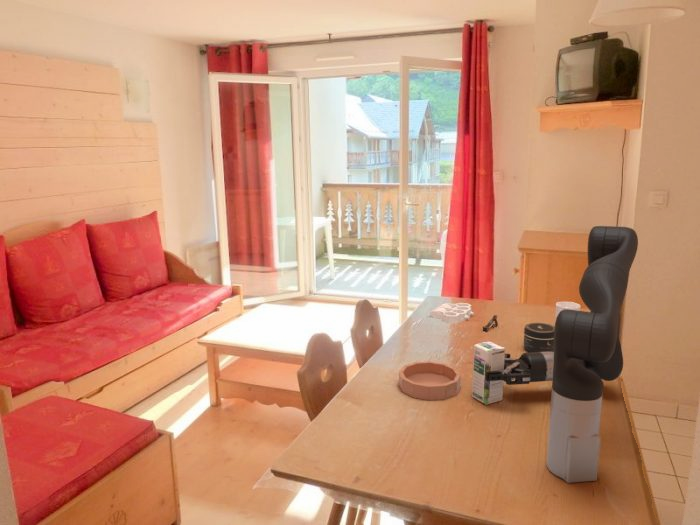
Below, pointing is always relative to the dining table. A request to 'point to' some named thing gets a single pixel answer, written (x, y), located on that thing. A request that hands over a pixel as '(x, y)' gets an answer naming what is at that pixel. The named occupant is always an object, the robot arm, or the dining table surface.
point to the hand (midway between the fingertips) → (480, 370)
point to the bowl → (429, 380)
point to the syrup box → (487, 361)
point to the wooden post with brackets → (491, 323)
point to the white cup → (566, 307)
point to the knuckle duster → (452, 312)
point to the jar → (539, 337)
